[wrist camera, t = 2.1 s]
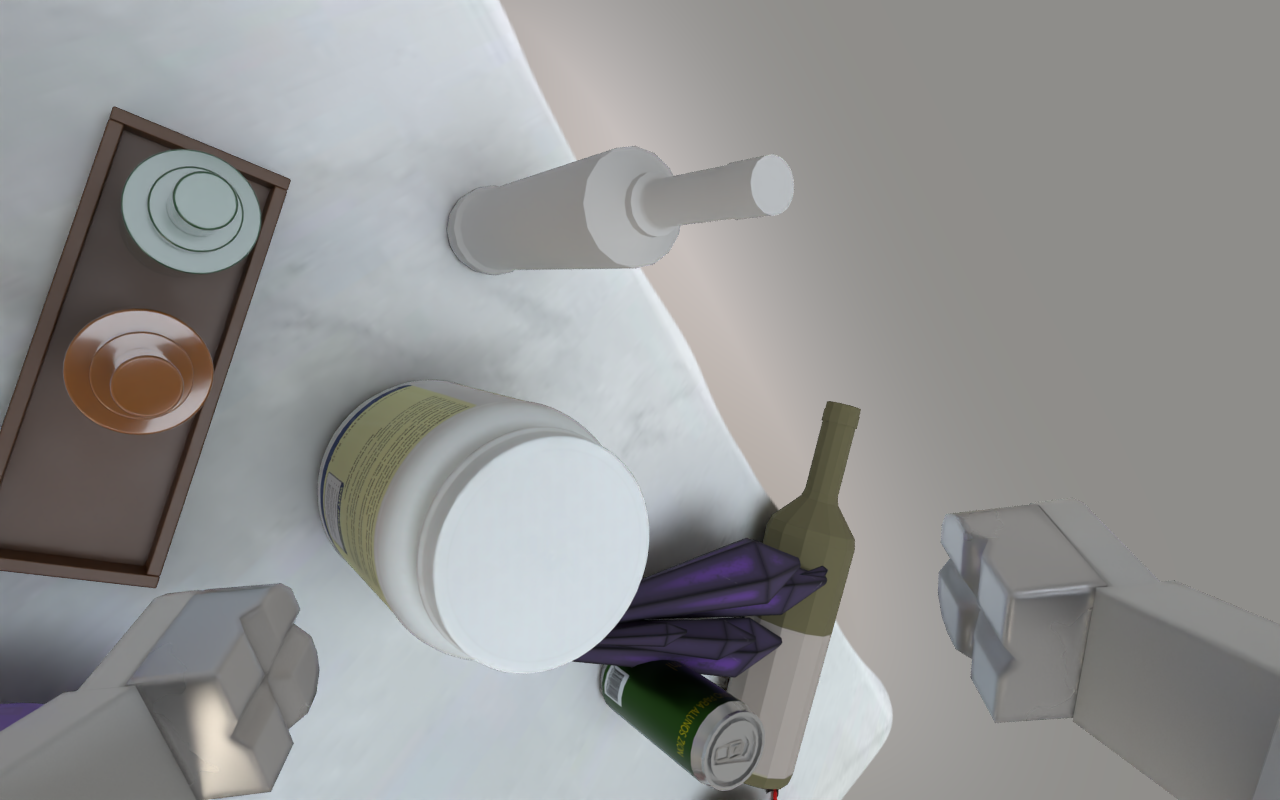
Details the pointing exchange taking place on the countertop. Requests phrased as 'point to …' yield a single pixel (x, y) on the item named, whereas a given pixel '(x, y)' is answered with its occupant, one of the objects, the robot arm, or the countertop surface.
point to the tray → (76, 446)
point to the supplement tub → (485, 522)
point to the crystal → (709, 610)
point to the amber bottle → (137, 370)
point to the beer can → (688, 719)
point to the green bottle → (188, 214)
